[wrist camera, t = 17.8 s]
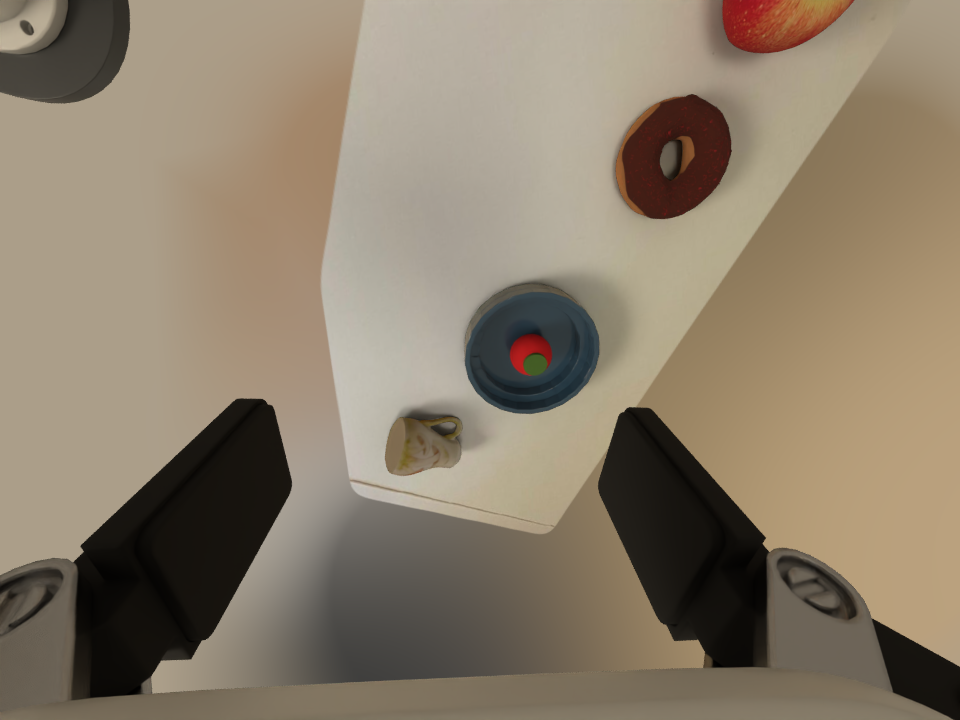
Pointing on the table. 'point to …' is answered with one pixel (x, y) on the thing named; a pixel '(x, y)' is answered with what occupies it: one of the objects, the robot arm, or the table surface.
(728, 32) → the apple
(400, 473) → the mug
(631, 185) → the donut
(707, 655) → the robot arm
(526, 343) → the tomato
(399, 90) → the table surface
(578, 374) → the bowl
